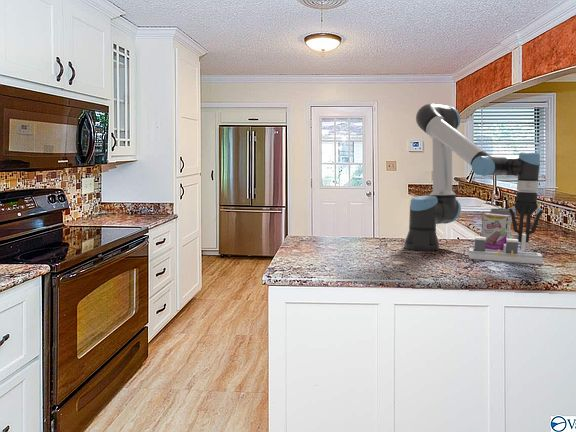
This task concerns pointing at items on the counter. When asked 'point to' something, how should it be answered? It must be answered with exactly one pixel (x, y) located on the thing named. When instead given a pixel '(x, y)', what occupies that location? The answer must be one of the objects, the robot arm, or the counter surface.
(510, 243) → the right tab
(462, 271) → the counter surface
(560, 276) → the counter surface
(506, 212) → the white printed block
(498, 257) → the switch bank
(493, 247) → the candy bar box
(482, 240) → the left tab
